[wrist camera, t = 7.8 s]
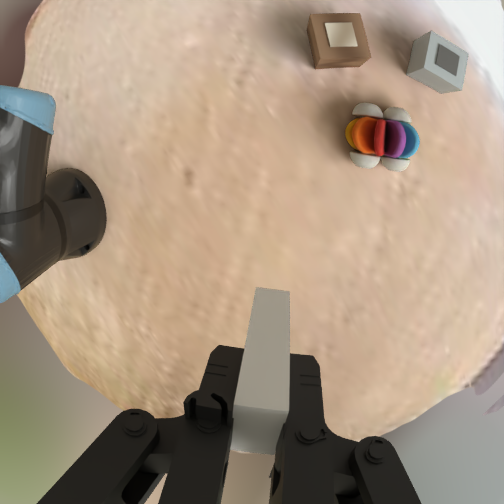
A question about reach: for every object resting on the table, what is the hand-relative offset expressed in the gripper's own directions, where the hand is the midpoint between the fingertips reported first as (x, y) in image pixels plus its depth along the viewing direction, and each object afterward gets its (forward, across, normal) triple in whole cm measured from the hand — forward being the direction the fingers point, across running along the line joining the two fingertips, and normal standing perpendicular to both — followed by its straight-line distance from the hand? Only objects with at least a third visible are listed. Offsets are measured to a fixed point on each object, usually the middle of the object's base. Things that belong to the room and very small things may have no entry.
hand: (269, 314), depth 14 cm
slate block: (+29, +19, +22) cm, 41 cm away
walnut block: (+29, +5, +21) cm, 36 cm away
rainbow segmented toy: (+29, +12, +10) cm, 33 cm away
